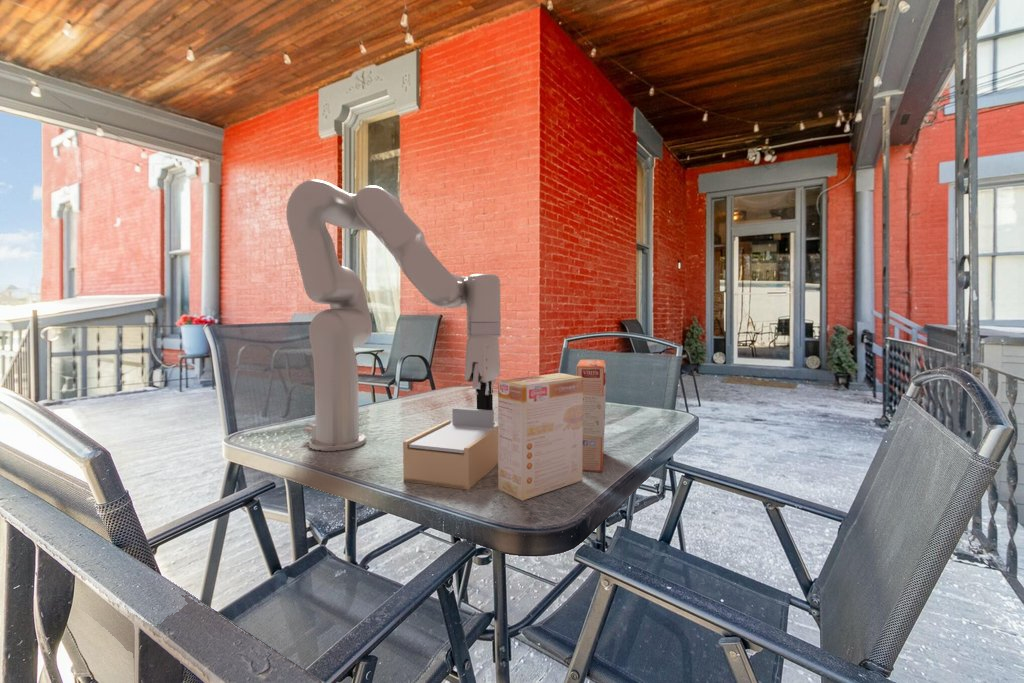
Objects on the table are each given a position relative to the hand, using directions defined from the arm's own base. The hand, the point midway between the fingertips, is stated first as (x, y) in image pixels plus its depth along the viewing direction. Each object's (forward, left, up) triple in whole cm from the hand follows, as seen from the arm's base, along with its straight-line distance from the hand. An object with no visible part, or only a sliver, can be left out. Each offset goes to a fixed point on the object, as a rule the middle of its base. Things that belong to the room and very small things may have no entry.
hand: (484, 411), depth 105 cm
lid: (0, -14, -2) cm, 14 cm away
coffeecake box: (+18, -17, -9) cm, 26 cm away
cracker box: (+24, 0, -9) cm, 25 cm away
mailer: (0, -14, -9) cm, 17 cm away
